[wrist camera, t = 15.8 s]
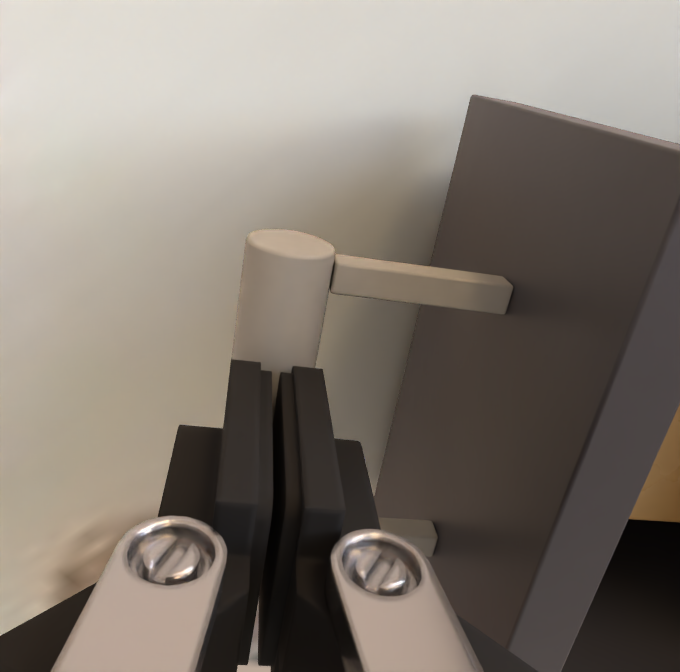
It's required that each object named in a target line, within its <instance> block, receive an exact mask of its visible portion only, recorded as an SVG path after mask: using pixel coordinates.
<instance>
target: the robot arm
mask: <svg viewBox="0 0 680 672" xmlns="http://www.w3.org/2000/svg"><path fill="white" fill-rule="evenodd" d="M258 599H259V631H258V665H260V666H271V672H538V671H537V670H536V669H534V668H533V667H531V666H530V665H528V664H527V663H526V662H524V661H523V660H521V659H520V658H518V657H517V656H516V655H514V654H513V653H511V652H510V651H509V650H507V649H506V648H504V647H503V646H501V645H500V644H499V643H497V642H496V641H494V640H493V639H491V638H490V637H489V636H487V635H486V634H484V633H483V632H481V631H480V630H479V629H477V628H476V627H474V626H473V625H471V624H470V623H469V622H467V621H466V620H464V619H463V618H461V617H460V616H459V615H457V614H456V613H455V612H454V610H453V608H452V606H451V604H450V602H449V600H448V598H447V596H446V594H445V592H444V590H443V588H442V586H441V584H440V582H439V580H438V578H437V576H436V574H435V572H434V570H433V568H432V566H431V564H430V562H429V560H428V559H427V558H426V556H425V555H424V553H423V552H422V551H421V550H420V549H419V548H418V547H417V546H415V545H414V544H413V543H412V542H411V541H409V540H407V539H405V538H403V537H401V536H400V535H398V534H395V533H391V532H388V531H384V530H381V528H380V524H379V519H378V515H377V511H376V506H375V502H374V497H373V493H372V489H371V484H370V480H369V476H368V471H367V467H366V463H365V458H364V454H363V449H362V446H361V443H360V442H359V441H355V440H344V439H334V434H333V428H332V422H331V416H330V410H329V404H328V398H327V392H326V386H325V380H324V374H323V369H319V368H309V367H300V366H293V367H292V370H291V373H284V372H281V373H280V377H279V383H278V390H277V396H276V403H275V410H274V416H273V423H272V371H265V370H261V362H254V361H244V360H235V359H231V366H230V375H229V383H228V392H227V400H226V409H225V418H224V426H223V429H221V428H210V427H199V426H187V425H179V427H178V431H177V435H176V440H175V444H174V448H173V453H172V457H171V462H170V466H169V470H168V475H167V479H166V483H165V488H164V492H163V496H162V501H161V505H160V510H159V514H158V517H157V518H152V519H150V520H147V521H144V522H142V523H139V524H137V525H136V526H135V527H133V528H132V529H130V530H129V531H127V532H126V533H125V534H124V536H123V537H122V538H121V540H120V541H119V542H118V543H117V545H116V547H115V549H114V551H113V553H112V555H111V557H110V559H109V561H108V563H107V564H106V566H105V568H104V570H103V572H102V574H101V576H100V578H99V580H98V582H97V583H95V584H93V585H91V586H90V587H88V588H86V589H84V590H82V591H81V592H79V593H77V594H75V595H73V596H72V597H70V598H68V599H66V600H64V601H63V602H61V603H59V604H57V605H55V606H54V607H52V608H50V609H48V610H46V611H45V612H43V613H41V614H39V615H37V616H36V617H34V618H32V619H30V620H28V621H27V622H25V623H23V624H21V625H19V626H18V627H16V628H14V629H12V630H10V631H9V632H7V633H5V634H3V635H1V636H0V672H237V666H238V665H247V664H248V660H249V654H250V648H251V642H252V635H253V629H254V623H255V617H256V611H257V605H258Z"/></svg>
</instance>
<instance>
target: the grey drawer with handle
mask: <svg viewBox="0 0 680 672" xmlns="http://www.w3.org/2000/svg"><path fill="white" fill-rule="evenodd" d="M329 287H330V291H331V293H333V294H340V295H348V296H356V297H365V298H373V299H381V300H389V301H397V302H405V303H413V304H421V305H420V309H419V314H418V318H417V322H416V326H415V330H414V334H413V338H412V343H411V347H410V351H409V355H408V359H407V363H406V367H405V372H404V376H403V380H402V384H401V388H400V392H399V396H398V401H397V405H396V409H395V413H394V417H393V421H392V425H391V430H390V434H389V438H388V442H387V446H386V450H385V454H384V459H383V463H382V467H381V471H380V475H379V479H378V483H377V488H376V492H375V496H374V502H375V506H376V511H377V515H378V519H379V524H380V528H381V530H384V531H388V532H391V533H395V534H398V535H400V536H401V537H403V538H405V539H407V540H409V541H411V542H412V543H413V544H414V545H415V546H417V547H418V548H419V549H420V550H421V551H422V552H423V553H424V555H425V556H426V558H427V559H428V560H429V562H430V564H431V566H432V568H433V570H434V572H435V574H436V576H437V578H438V580H439V582H440V584H441V586H442V588H443V590H444V592H445V594H446V596H447V598H448V600H449V602H450V604H451V606H452V608H453V610H454V612H455V613H456V614H457V615H459V616H460V617H461V618H463V619H464V620H466V621H467V622H469V623H470V624H471V625H473V626H474V627H476V628H477V629H479V630H480V631H481V632H483V633H484V634H486V635H487V636H489V637H490V638H491V639H493V640H494V641H496V642H497V643H499V644H500V645H501V646H503V647H504V648H506V649H507V650H509V651H510V652H511V653H513V654H514V655H516V656H517V657H518V658H520V659H521V660H523V661H524V662H526V663H527V664H528V665H530V666H531V667H533V668H534V669H536V670H537V671H538V672H680V523H679V522H664V521H649V520H633V519H629V517H630V515H631V513H632V510H633V508H634V506H635V504H636V501H637V499H638V497H639V495H640V492H641V490H642V488H643V486H644V483H645V481H646V479H647V477H648V474H649V472H650V470H651V468H652V465H653V463H654V461H655V459H656V456H657V454H658V452H659V450H660V447H661V445H662V443H663V441H664V438H665V436H666V434H667V431H668V429H669V427H670V425H671V422H672V420H673V418H674V416H675V413H676V411H677V409H678V407H679V404H680V144H676V143H672V142H668V141H664V140H661V139H657V138H653V137H649V136H645V135H641V134H637V133H633V132H629V131H625V130H621V129H617V128H614V127H610V126H606V125H602V124H598V123H594V122H590V121H586V120H582V119H578V118H574V117H570V116H566V115H563V114H559V113H555V112H551V111H547V110H543V109H539V108H535V107H531V106H527V105H523V104H519V103H516V102H510V101H505V100H500V99H494V98H489V97H484V96H478V95H472V96H471V98H470V102H469V106H468V110H467V115H466V119H465V123H464V127H463V131H462V135H461V139H460V144H459V148H458V152H457V156H456V160H455V164H454V168H453V173H452V177H451V181H450V185H449V189H448V193H447V197H446V202H445V206H444V210H443V214H442V218H441V222H440V227H439V231H438V235H437V239H436V243H435V247H434V251H433V256H432V260H431V264H430V266H422V265H415V264H407V263H400V262H393V261H385V260H378V259H370V258H363V257H355V256H348V255H341V254H335V248H334V246H333V245H332V244H330V243H329V242H327V241H325V240H323V239H321V238H319V237H317V236H314V235H311V234H307V233H303V232H299V231H293V230H286V229H261V230H256V231H253V232H251V233H249V234H248V236H247V238H246V243H245V252H244V260H243V268H242V277H241V285H240V294H239V302H238V310H237V319H236V327H235V335H234V344H233V352H232V359H235V360H244V361H254V362H261V370H265V371H272V423H273V416H274V410H275V403H276V396H277V390H278V383H279V377H280V373H281V372H284V373H291V370H292V367H293V366H300V367H309V368H315V365H316V360H317V354H318V348H319V343H320V337H321V332H322V326H323V320H324V315H325V309H326V304H327V298H328V292H329Z"/></svg>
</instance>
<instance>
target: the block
mask: <svg viewBox="0 0 680 672" xmlns="http://www.w3.org/2000/svg"><path fill="white" fill-rule="evenodd" d="M629 519H633V520H649V521H664V522H679V523H680V404H679V407H678V409H677V411H676V413H675V416H674V418H673V420H672V422H671V425H670V427H669V429H668V431H667V434H666V436H665V438H664V441H663V443H662V445H661V447H660V450H659V452H658V454H657V456H656V459H655V461H654V463H653V465H652V468H651V470H650V472H649V474H648V477H647V479H646V481H645V483H644V486H643V488H642V490H641V492H640V495H639V497H638V499H637V501H636V504H635V506H634V508H633V510H632V513H631V515H630V517H629Z"/></svg>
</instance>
